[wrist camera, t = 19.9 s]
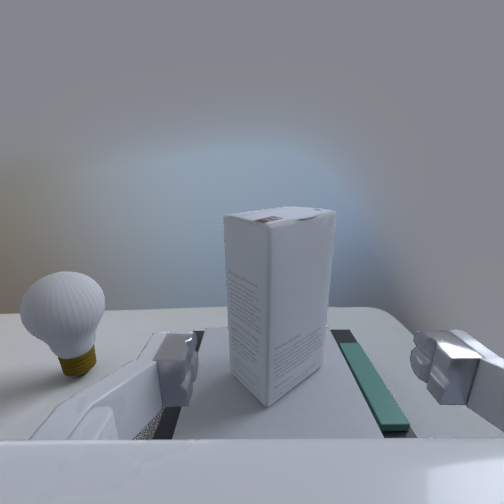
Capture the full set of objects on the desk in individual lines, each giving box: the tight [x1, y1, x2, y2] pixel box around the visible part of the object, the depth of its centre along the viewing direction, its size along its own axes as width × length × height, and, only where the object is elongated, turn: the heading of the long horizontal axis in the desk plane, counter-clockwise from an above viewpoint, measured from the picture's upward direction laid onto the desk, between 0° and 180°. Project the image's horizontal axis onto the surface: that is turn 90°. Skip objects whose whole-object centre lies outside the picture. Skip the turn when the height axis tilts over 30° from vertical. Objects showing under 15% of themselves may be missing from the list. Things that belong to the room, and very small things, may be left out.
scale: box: [153, 327, 417, 440], centre depth 20 cm, size 16×14×4 cm
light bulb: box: [20, 272, 105, 376], centre depth 23 cm, size 6×6×10 cm
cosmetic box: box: [224, 206, 336, 407], centre depth 18 cm, size 6×4×12 cm
